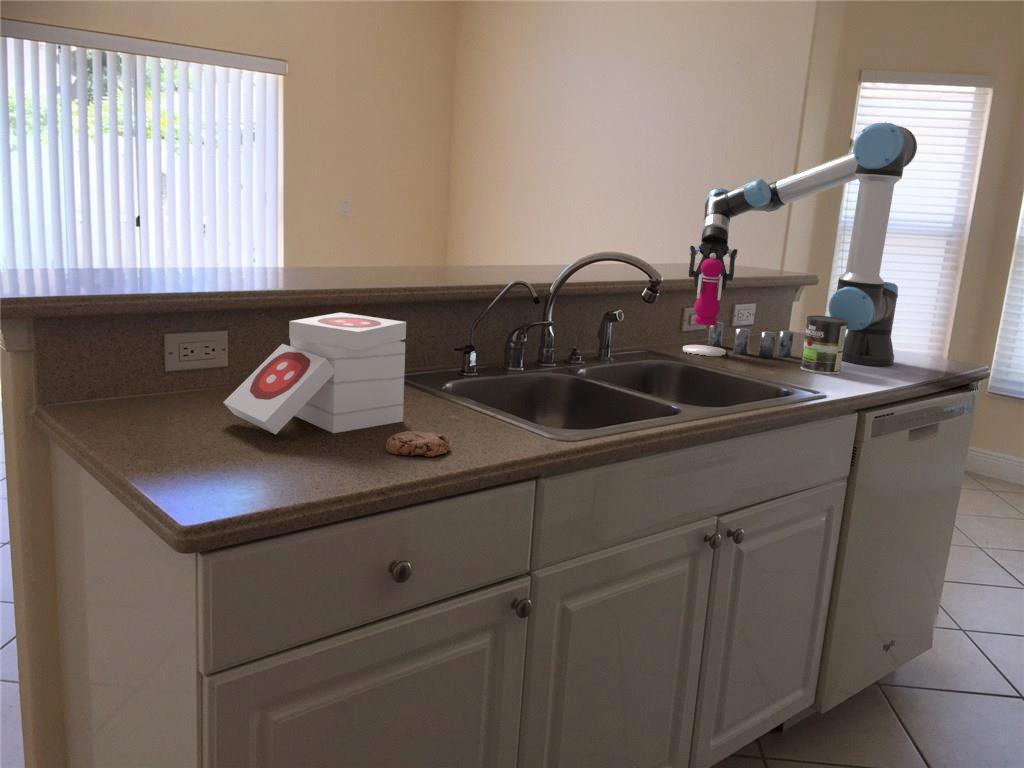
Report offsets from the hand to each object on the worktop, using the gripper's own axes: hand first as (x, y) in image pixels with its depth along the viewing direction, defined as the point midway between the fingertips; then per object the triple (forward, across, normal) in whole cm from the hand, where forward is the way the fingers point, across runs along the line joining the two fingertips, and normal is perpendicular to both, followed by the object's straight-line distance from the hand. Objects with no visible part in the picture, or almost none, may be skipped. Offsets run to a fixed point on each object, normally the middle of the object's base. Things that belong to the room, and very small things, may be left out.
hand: (708, 296), depth 249 cm
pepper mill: (+3, 0, -9) cm, 9 cm away
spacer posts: (+3, -14, -21) cm, 25 cm away
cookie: (+95, +45, +72) cm, 127 cm away
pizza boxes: (+89, +66, +65) cm, 129 cm away
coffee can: (+17, -31, -6) cm, 36 cm away
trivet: (+9, 0, -14) cm, 17 cm away
